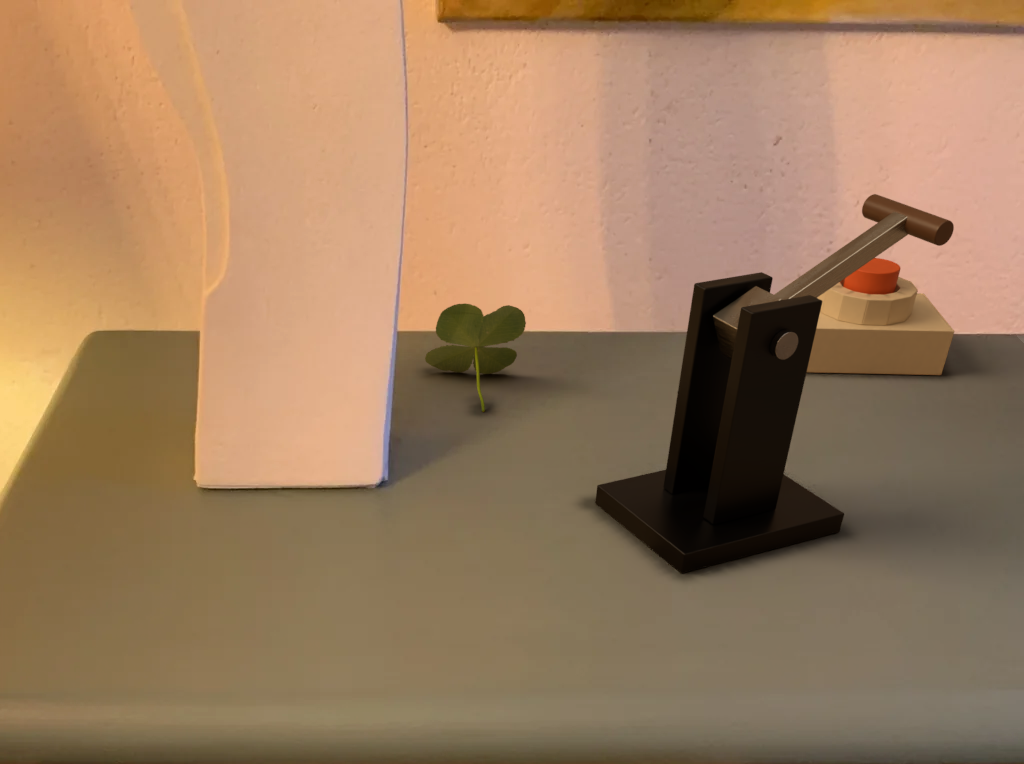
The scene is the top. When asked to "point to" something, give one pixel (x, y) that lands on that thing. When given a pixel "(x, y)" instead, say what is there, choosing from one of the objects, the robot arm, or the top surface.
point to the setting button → (874, 277)
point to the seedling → (476, 340)
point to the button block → (879, 333)
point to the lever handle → (842, 259)
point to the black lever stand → (730, 439)
